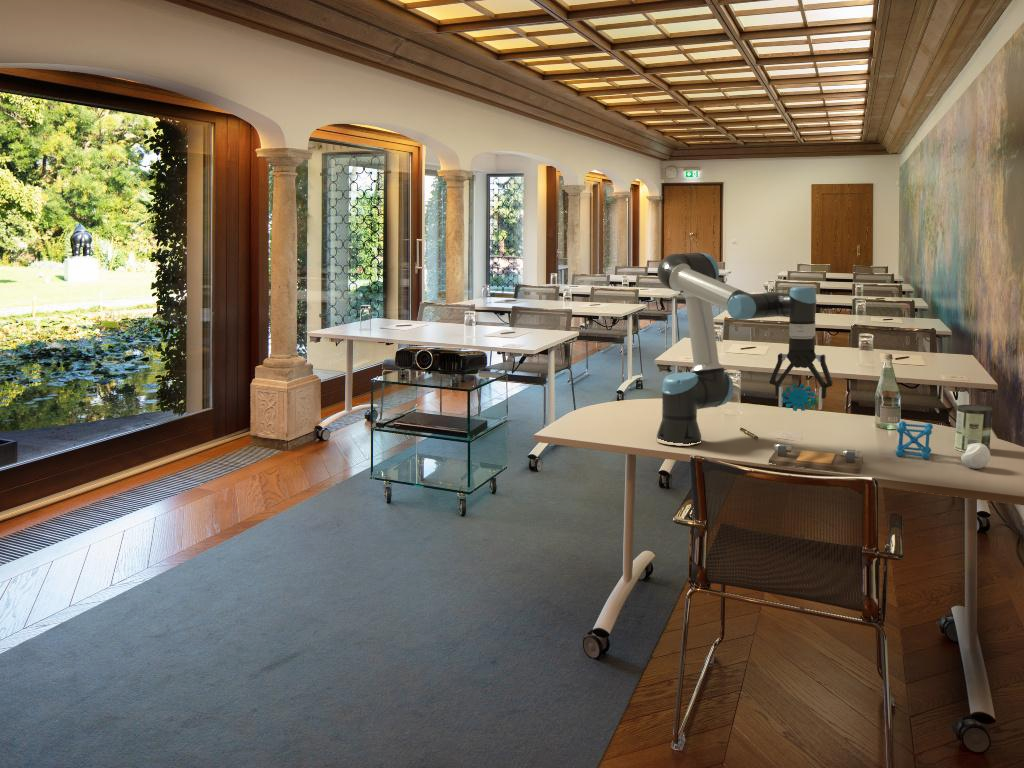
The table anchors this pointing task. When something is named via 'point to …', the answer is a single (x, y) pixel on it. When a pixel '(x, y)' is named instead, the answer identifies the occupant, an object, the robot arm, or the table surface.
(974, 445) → the crumpled paper ball
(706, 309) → the robot arm
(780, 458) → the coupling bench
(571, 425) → the table surface
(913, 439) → the molecular structure
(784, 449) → the shaft pair
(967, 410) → the coffee can
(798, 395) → the virus model
